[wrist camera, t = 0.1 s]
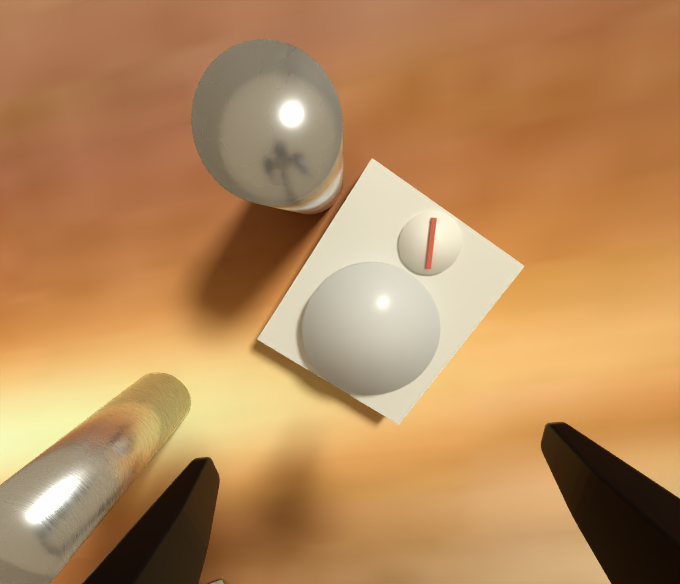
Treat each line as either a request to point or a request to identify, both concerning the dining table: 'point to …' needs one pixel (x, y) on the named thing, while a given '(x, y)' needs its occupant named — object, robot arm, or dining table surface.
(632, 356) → the dining table surface
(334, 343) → the scale
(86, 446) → the shiny silver cylinder
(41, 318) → the dining table surface
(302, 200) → the cylinder
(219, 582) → the condiment
